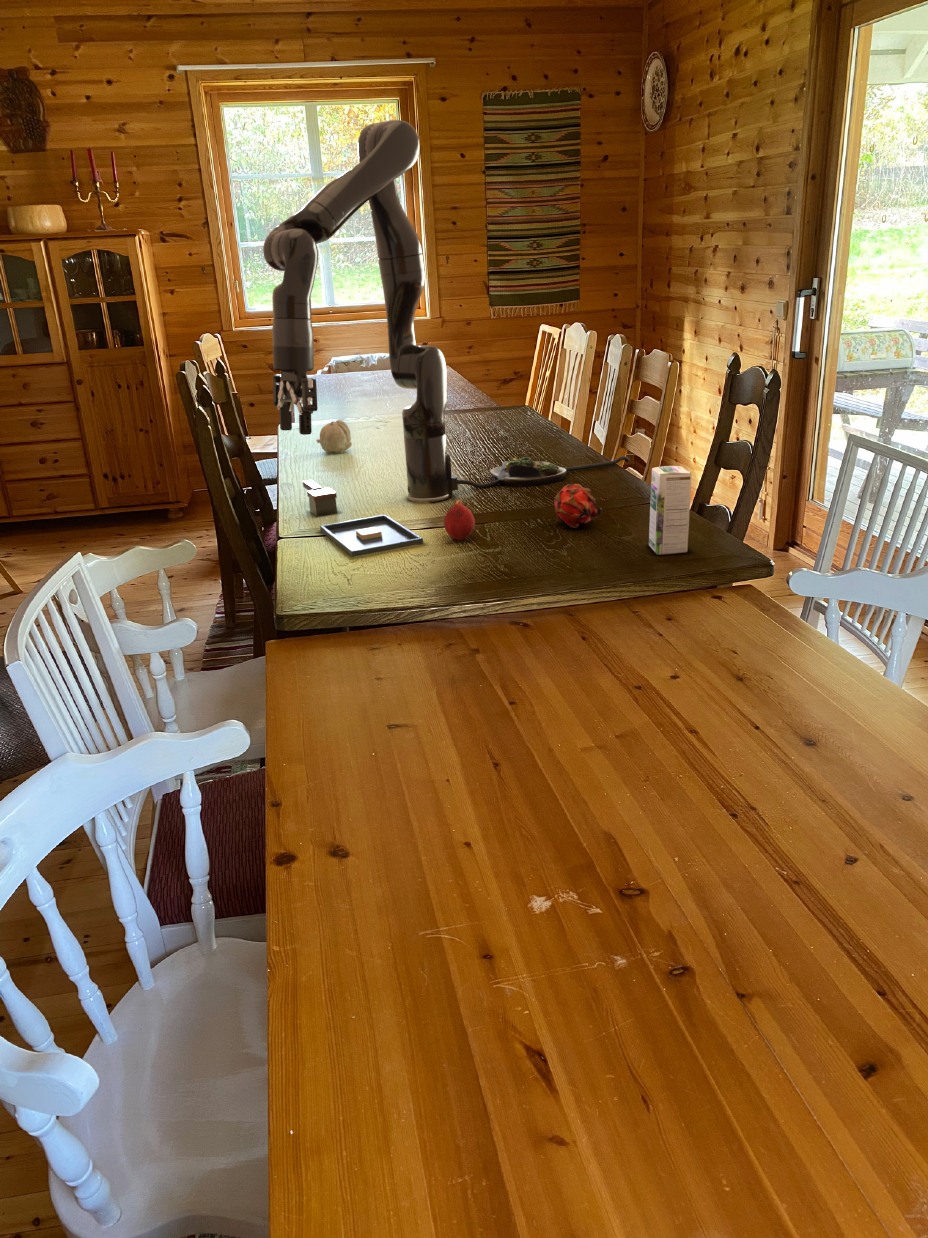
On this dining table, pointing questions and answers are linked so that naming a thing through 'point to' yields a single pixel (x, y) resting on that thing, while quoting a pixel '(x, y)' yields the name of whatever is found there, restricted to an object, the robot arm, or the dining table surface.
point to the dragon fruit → (575, 505)
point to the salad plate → (527, 472)
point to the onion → (459, 521)
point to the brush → (320, 499)
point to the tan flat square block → (368, 533)
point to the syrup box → (669, 510)
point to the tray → (355, 546)
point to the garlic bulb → (335, 437)
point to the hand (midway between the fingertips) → (295, 432)
